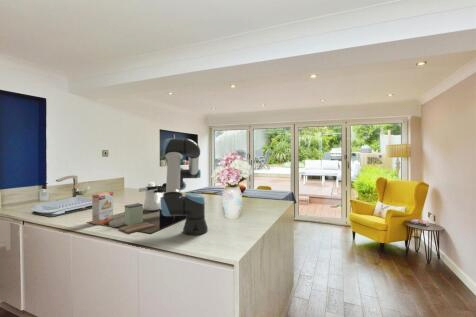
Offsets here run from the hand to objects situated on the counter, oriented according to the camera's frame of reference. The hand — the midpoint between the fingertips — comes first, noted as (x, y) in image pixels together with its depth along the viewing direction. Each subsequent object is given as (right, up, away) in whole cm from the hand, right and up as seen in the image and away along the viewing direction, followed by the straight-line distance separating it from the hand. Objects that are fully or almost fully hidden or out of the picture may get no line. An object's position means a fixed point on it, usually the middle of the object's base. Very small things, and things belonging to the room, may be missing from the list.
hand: (144, 191), depth 177 cm
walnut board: (+3, -22, -19) cm, 29 cm away
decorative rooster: (-3, -21, +35) cm, 41 cm away
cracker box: (-28, -22, -4) cm, 35 cm away
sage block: (-4, -22, -7) cm, 23 cm away
